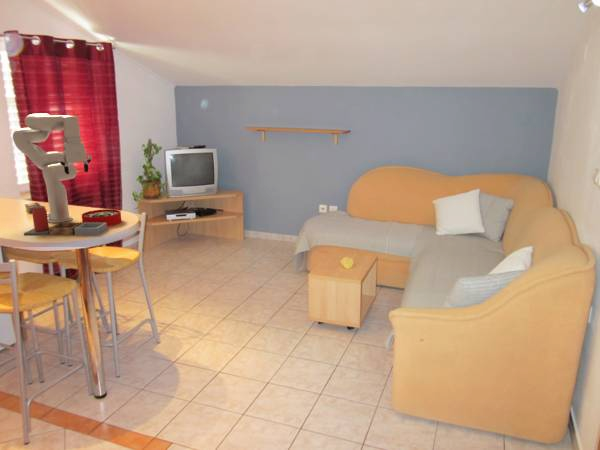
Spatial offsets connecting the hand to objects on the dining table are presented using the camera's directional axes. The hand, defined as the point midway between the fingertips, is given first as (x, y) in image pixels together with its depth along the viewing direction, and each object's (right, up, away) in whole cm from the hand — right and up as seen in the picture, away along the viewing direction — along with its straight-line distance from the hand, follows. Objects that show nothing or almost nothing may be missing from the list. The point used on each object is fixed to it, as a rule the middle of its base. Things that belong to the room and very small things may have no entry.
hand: (76, 172), depth 270 cm
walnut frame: (-2, -31, -7) cm, 32 cm away
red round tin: (+9, -27, +11) cm, 30 cm away
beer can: (-15, -30, -7) cm, 34 cm away
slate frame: (+11, -31, -8) cm, 34 cm away
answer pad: (-15, -31, -7) cm, 35 cm away
